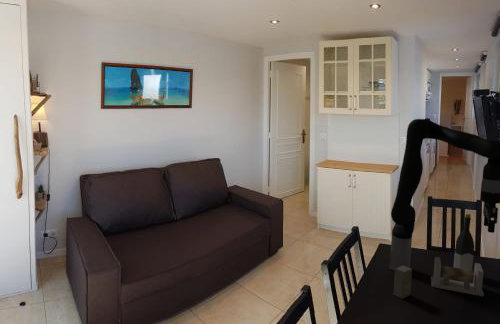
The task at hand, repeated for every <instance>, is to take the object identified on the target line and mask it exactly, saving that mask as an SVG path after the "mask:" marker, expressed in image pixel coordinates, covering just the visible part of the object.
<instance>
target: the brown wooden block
mask: <svg viewBox="0 0 500 324" xmlns="http://www.w3.org/2000/svg"><path fill="white" fill-rule="evenodd" d="M440 275H441V278H443V279H449V280H455V281H460V282H466V283H471V284H473V281H474V270H473V269H472V270H466V269H460V268H454V266H447V265H441V272H440Z"/></svg>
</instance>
